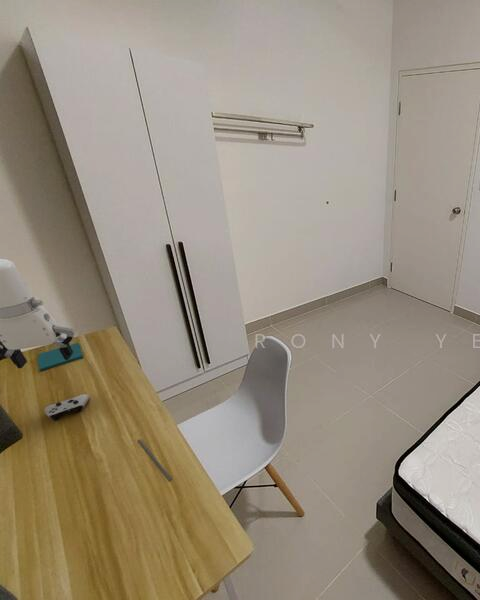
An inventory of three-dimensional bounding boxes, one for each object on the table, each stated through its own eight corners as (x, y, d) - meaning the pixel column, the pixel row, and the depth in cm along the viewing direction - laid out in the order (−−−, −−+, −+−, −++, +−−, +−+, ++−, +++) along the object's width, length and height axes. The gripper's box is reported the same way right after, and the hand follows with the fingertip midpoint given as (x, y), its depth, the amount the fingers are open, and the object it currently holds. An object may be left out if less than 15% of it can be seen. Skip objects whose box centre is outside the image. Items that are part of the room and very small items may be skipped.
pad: (40, 371, 111) (39, 369, 110) (38, 356, 117) (37, 354, 117) (83, 357, 118) (82, 355, 118) (79, 344, 125) (78, 342, 124)
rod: (169, 482, 80) (169, 481, 80) (137, 442, 90) (137, 440, 89) (172, 480, 81) (172, 479, 80) (140, 440, 90) (140, 438, 90)
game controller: (89, 393, 102) (83, 391, 97) (93, 409, 101) (88, 408, 97) (45, 407, 97) (37, 406, 92) (50, 424, 96) (43, 424, 91)
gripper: (65, 295, 89) (90, 346, 97) (-24, 306, 82) (11, 360, 90) (53, 308, 83) (81, 361, 91) (-44, 321, 76) (-5, 377, 84)
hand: (46, 361), depth 91 cm, fingers open, 9 cm apart
